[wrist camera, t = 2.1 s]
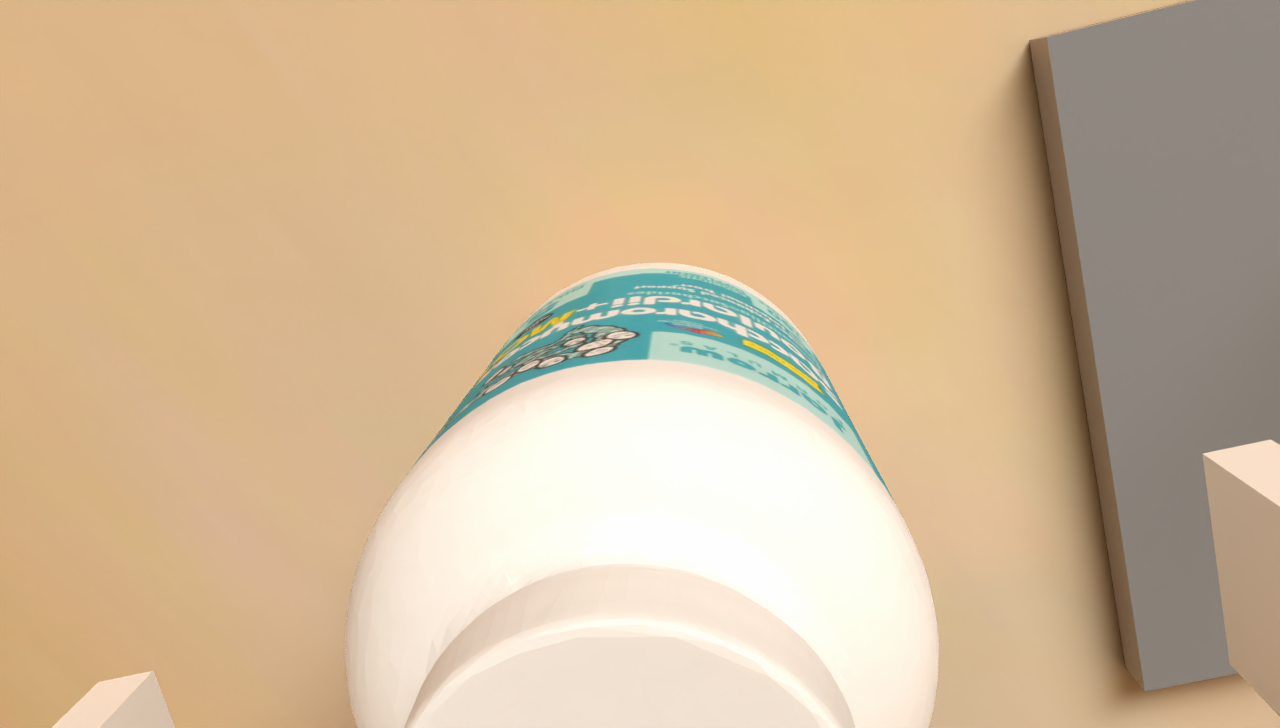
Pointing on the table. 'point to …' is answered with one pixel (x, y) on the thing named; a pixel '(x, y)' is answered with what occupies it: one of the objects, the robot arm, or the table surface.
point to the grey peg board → (1169, 290)
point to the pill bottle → (644, 534)
